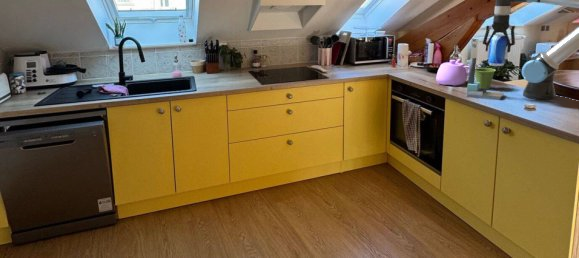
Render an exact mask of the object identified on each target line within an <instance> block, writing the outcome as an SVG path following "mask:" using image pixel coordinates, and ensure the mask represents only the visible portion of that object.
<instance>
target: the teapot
mask: <svg viewBox="0 0 579 258" xmlns="http://www.w3.org/2000/svg"><path fill="white" fill-rule="evenodd" d="M460 61H461V59H460V58H458V59H456V60H455V59H450V60H449V62H448V61H447V62H443V63H441V64H440V66H439V68H438V70H437V73H436V78H435V80H436V82H437V84H440V85H441V86H445V85H447V86H449V85H450V86H453V87H457V86H461V85H464V84H465V83H466V81H468V80H467V79H468V77H469V67H470V65H465V64H464V63H463V62H460ZM467 69H468V71H467Z"/></svg>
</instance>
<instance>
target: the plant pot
mask: <svg viewBox="0 0 579 258" xmlns="http://www.w3.org/2000/svg"><path fill="white" fill-rule="evenodd" d="M496 71H497V70H496V69H495V68H492V67H491V68H490V67H486V68H485V67H478V68H477V67H476V68H475V82H480V88H487V90H489V89H490V88H491V85H492V82H493V77H494V75H495V72H496Z"/></svg>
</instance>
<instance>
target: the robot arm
mask: <svg viewBox="0 0 579 258" xmlns="http://www.w3.org/2000/svg"><path fill="white" fill-rule="evenodd" d="M512 3H538V4H539V3H540V4H547V5H555V6H561V7H567V8H574V9H579V0H495V5H494V11H493V12H494V13H493V14H494V15H493V21H492V24H491V25H489V24H487V25H486V26H485V29H486V31H485V34H484V36H483V41H482V44H483V45H485V52H487V53H486V58H487V59H489V50H490V41H491V39H492V37H493V35H495V34H499V33H500V34H504V35H505V37H506V39H507V46H506V51H505V59H506V60H507V59H508V54H509V53H510V52H511V47H512V46H515V44H516V41H515V40H516V38H515V28H516V25H511V24H510V19H511V18H510V17H511V16H510V14H511V11H512V10H511V9H512V8H511V7H512ZM491 29H493V31H492V34H491V35H490V37H489V33H490V31H491ZM508 29H509V30H510V37H509V35H508V31H507V30H508ZM510 39H511V40H510ZM578 50H579V26H577V27H576V28H574V29H573V30H572V31H571V32H569V33H568V34H567V35H565V36H564V37H563V38H562V39H561V40H560V41H558V42H557V43H555V44H554V45H553V46H552V47H550V48H549V49H548V50H547V51H540V52H539V53H533V54H531V57H530V60H529V61H526V62H525V63H524V64H523V65H522V68H521V75H522V77H523V79H524V80H525V81H526V82H527V83H526V86H525V88H524V89H523V90H522V91H523V93H522V96H523V97H524V98H529V99H534V100H535V99H536V100H552V99H555V97H556V91H555V86H554V78H555V72H556V71H557V70H559V66H560V64H561V63H563V62H564V61H565V60H566V59H568V58H569V57H571V56H572V55H573V54H575V53H577V52H578Z"/></svg>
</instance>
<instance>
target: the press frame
mask: <svg viewBox="0 0 579 258" xmlns="http://www.w3.org/2000/svg"><path fill="white" fill-rule="evenodd" d="M487 90H488V89H487V88H479V91H470V90H468V91H467V90H466V97H467V98H474V99H475V98H476V99H477V98H478V99H484V100H485V99H488V100H495V101H501V100H502V98H503V97H504V96H503V95H505V94H504V92H494V91H487Z"/></svg>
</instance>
